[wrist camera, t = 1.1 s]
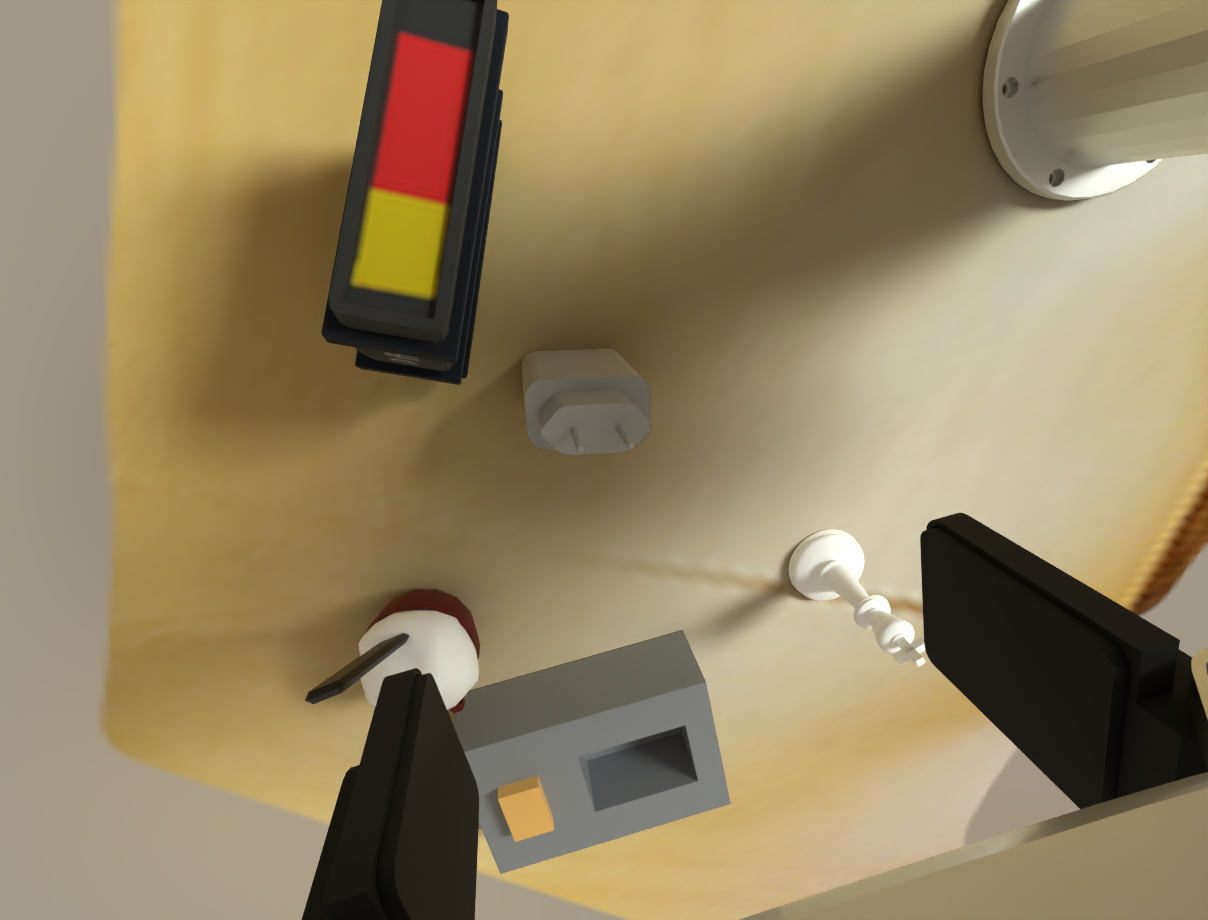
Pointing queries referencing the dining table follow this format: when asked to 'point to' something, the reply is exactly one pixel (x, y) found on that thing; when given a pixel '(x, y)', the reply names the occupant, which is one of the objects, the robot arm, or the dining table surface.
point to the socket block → (592, 751)
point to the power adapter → (584, 401)
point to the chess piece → (851, 590)
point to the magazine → (420, 190)
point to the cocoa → (414, 648)
